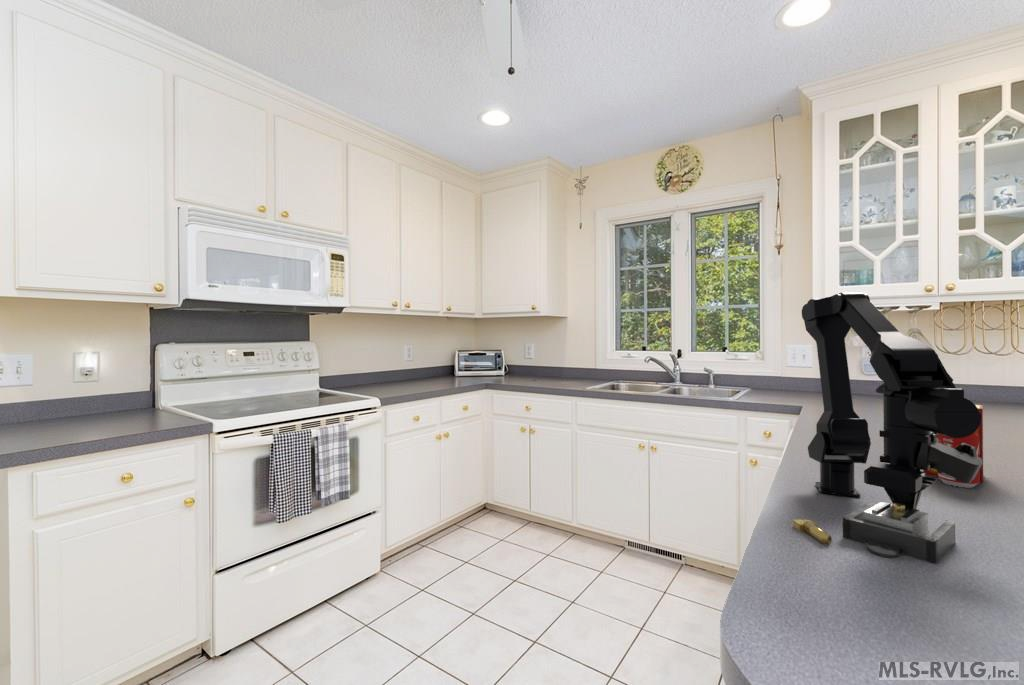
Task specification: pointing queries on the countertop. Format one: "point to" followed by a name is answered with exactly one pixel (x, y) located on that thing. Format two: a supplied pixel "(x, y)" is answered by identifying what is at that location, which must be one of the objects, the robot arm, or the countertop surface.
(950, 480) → the beverage can
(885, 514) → the block
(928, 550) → the bracket
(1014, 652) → the countertop surface
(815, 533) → the gold elongated piece
